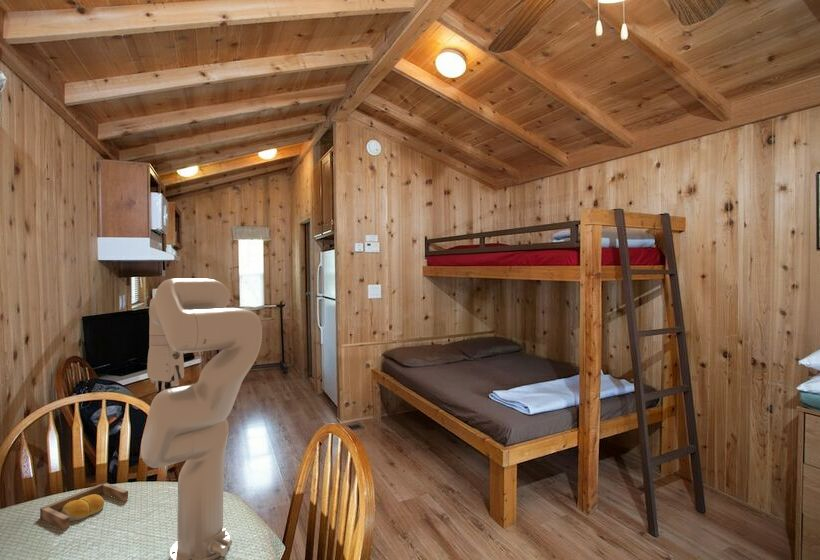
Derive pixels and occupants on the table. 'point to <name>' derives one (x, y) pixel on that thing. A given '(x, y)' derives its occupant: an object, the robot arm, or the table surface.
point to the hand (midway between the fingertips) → (164, 404)
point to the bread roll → (83, 507)
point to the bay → (61, 520)
